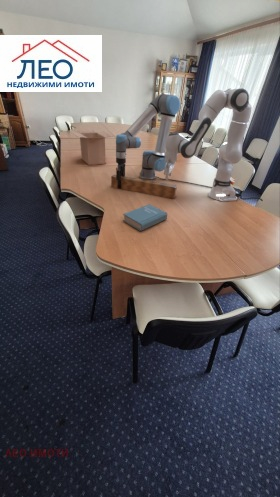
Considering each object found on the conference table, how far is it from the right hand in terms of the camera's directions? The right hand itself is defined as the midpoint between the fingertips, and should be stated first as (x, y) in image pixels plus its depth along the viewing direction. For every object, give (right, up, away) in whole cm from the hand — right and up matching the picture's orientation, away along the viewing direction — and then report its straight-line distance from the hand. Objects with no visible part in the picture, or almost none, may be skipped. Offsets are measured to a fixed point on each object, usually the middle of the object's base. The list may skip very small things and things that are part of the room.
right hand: (168, 177), depth 165 cm
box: (-71, +41, +72) cm, 109 cm away
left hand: (-37, -2, +17) cm, 41 cm away
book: (-18, -36, -26) cm, 47 cm away
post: (-19, -7, +13) cm, 24 cm away
